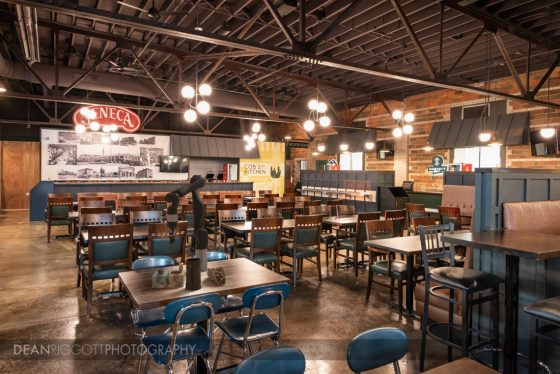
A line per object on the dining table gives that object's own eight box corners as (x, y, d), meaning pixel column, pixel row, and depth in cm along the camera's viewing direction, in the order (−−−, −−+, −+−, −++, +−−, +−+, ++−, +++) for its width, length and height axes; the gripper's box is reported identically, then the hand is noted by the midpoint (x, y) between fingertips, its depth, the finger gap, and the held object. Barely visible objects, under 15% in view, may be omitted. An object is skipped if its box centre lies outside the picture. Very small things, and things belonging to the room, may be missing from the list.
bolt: (183, 271, 258) (183, 262, 258) (182, 272, 256) (182, 263, 255) (170, 272, 257) (170, 262, 257) (170, 273, 254) (170, 263, 254)
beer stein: (186, 285, 253) (186, 257, 251) (202, 285, 253) (202, 256, 252) (182, 294, 237) (182, 263, 235) (199, 293, 238) (199, 263, 236)
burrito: (215, 287, 250) (215, 272, 250) (204, 278, 274) (204, 264, 273) (229, 285, 254) (228, 270, 254) (216, 276, 278) (216, 263, 278)
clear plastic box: (185, 281, 264) (184, 265, 264) (183, 286, 250) (182, 270, 250) (155, 282, 261) (155, 267, 261) (152, 288, 247) (152, 271, 247)
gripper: (176, 221, 261) (176, 244, 261) (179, 219, 275) (179, 241, 275) (165, 221, 260) (165, 244, 260) (168, 219, 274) (168, 241, 274)
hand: (172, 242), depth 268 cm, fingers open, 8 cm apart
